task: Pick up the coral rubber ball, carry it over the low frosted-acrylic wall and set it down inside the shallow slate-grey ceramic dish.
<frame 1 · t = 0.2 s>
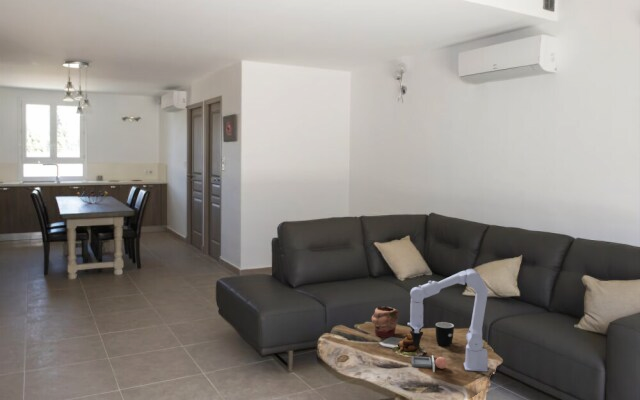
hand: (416, 343, 246), 10 cm above the table, fingers open, 7 cm apart
bear figurine: (409, 352, 262), on the table
mug: (445, 344, 273), on the table
dish: (421, 363, 248), on the table
decorative planter: (386, 334, 288), on the table
acrylic wall: (433, 366, 244), on the table
ball: (440, 368, 243), on the table
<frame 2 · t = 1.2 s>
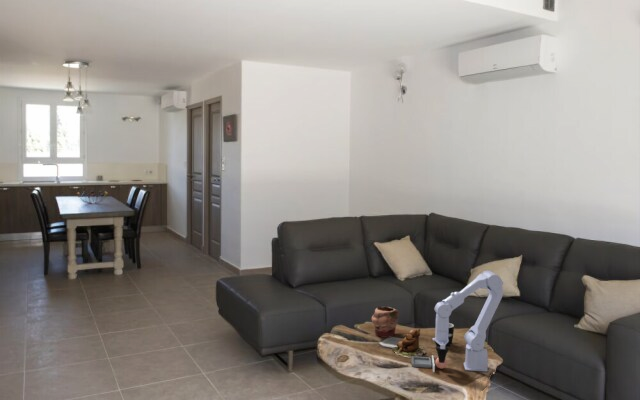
hand: (441, 359, 242), 4 cm above the table, fingers open, 7 cm apart
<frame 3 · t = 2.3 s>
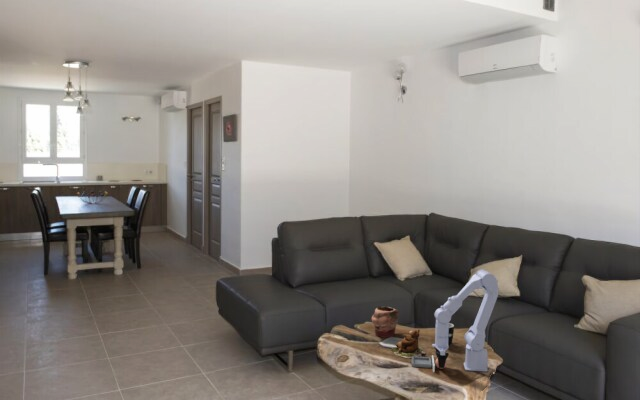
hand: (441, 365, 242), 1 cm above the table, fingers closed on ball, 5 cm apart
ball: (440, 368, 243), on the table, touching gripper
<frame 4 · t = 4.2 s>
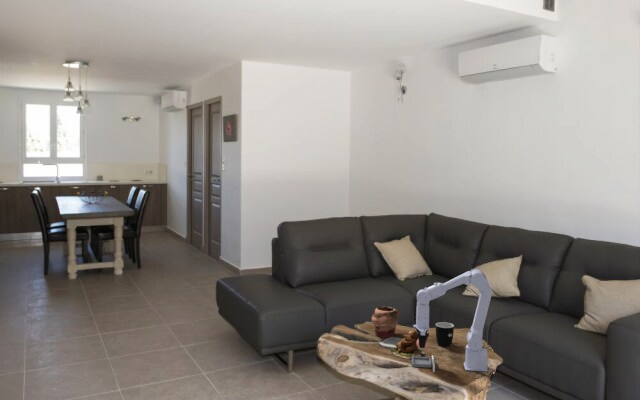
hand: (421, 345, 247), 8 cm above the table, fingers closed on ball, 5 cm apart
ball: (421, 348, 247), point 7 cm above the table, touching gripper
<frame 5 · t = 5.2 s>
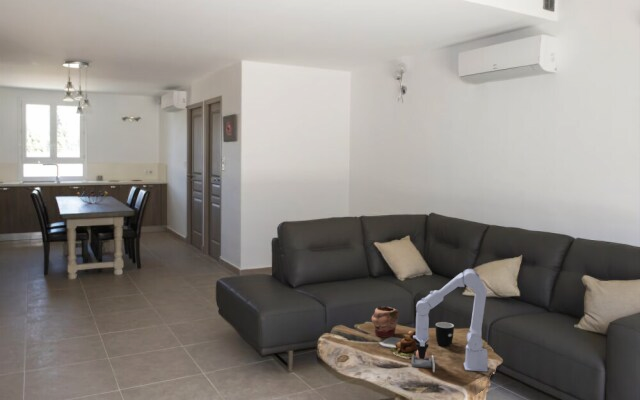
hand: (421, 356, 247), 3 cm above the table, fingers closed on ball, 5 cm apart
ball: (421, 359, 248), point 2 cm above the table, touching gripper
when the fingers open (3 cm above the table, at t = 6.1 s): ball drops 1 cm, resting on dish.
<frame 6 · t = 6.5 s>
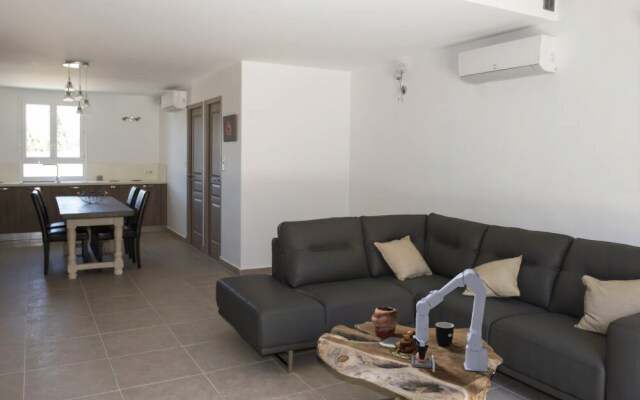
hand: (421, 356, 247), 3 cm above the table, fingers open, 7 cm apart
ball: (421, 362, 248), point 1 cm above the table, touching dish
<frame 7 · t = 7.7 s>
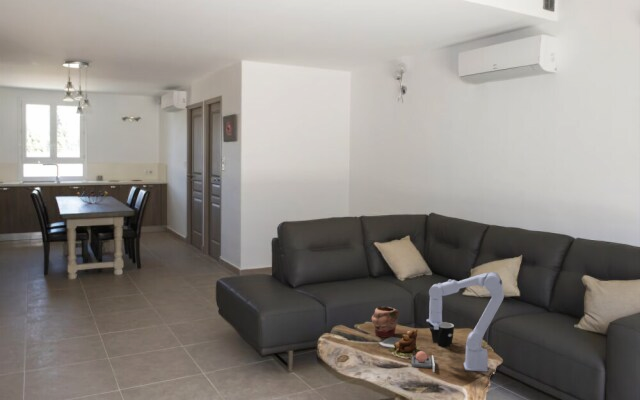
hand: (434, 339, 249), 10 cm above the table, fingers open, 7 cm apart
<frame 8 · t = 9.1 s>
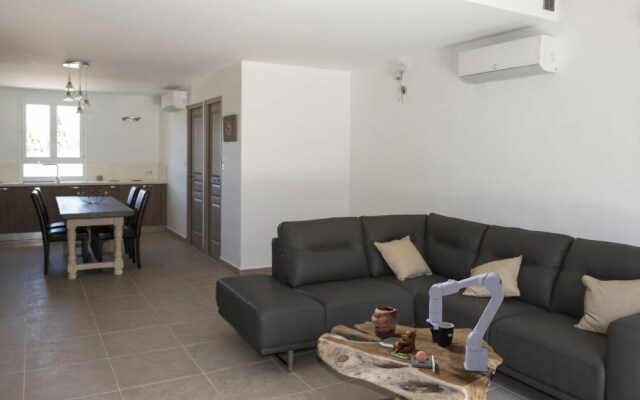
hand: (434, 339, 249), 10 cm above the table, fingers open, 7 cm apart
at the end: ball 0.0 cm off-centre on the dish, point 0.6 cm above the dish's base; the gripper is holding nothing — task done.
